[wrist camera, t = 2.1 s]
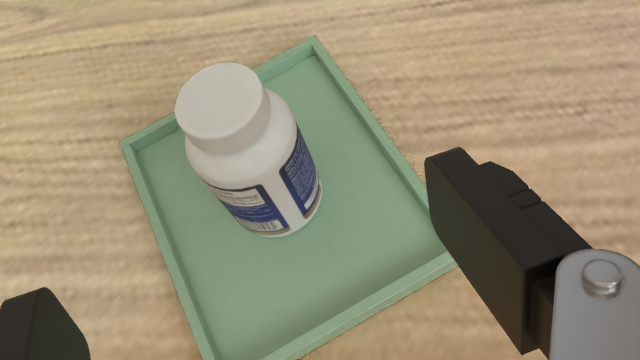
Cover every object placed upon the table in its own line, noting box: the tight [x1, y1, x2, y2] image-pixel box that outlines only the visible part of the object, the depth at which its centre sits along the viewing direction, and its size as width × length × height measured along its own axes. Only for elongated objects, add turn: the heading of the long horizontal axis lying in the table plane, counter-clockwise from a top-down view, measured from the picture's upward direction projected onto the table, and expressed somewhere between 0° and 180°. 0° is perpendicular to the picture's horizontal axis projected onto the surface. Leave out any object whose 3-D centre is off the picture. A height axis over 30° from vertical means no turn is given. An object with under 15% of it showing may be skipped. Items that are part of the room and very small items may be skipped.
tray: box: [119, 35, 458, 360], centre depth 32 cm, size 17×14×1 cm
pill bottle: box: [175, 62, 322, 238], centre depth 28 cm, size 5×5×10 cm
